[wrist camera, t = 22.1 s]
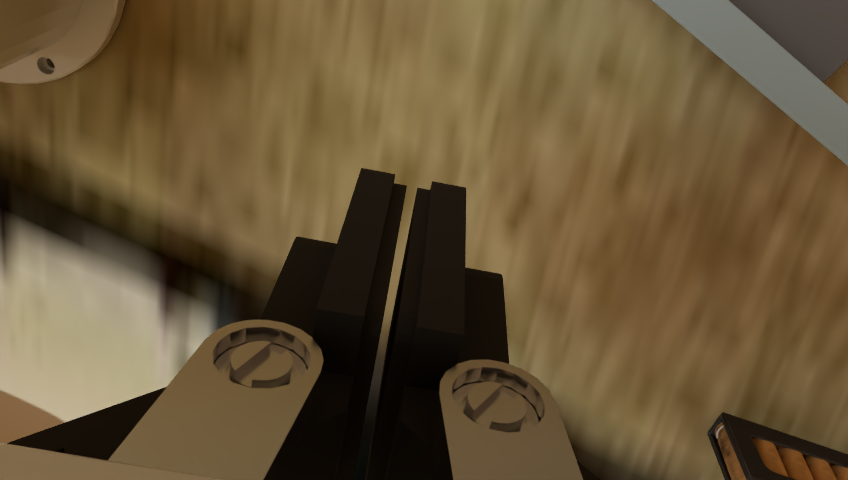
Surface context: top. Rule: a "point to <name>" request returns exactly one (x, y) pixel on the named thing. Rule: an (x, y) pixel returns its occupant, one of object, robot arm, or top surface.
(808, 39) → the doorstop block
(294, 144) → the top surface
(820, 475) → the ammunition clip
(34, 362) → the top surface
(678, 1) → the door
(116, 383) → the top surface
